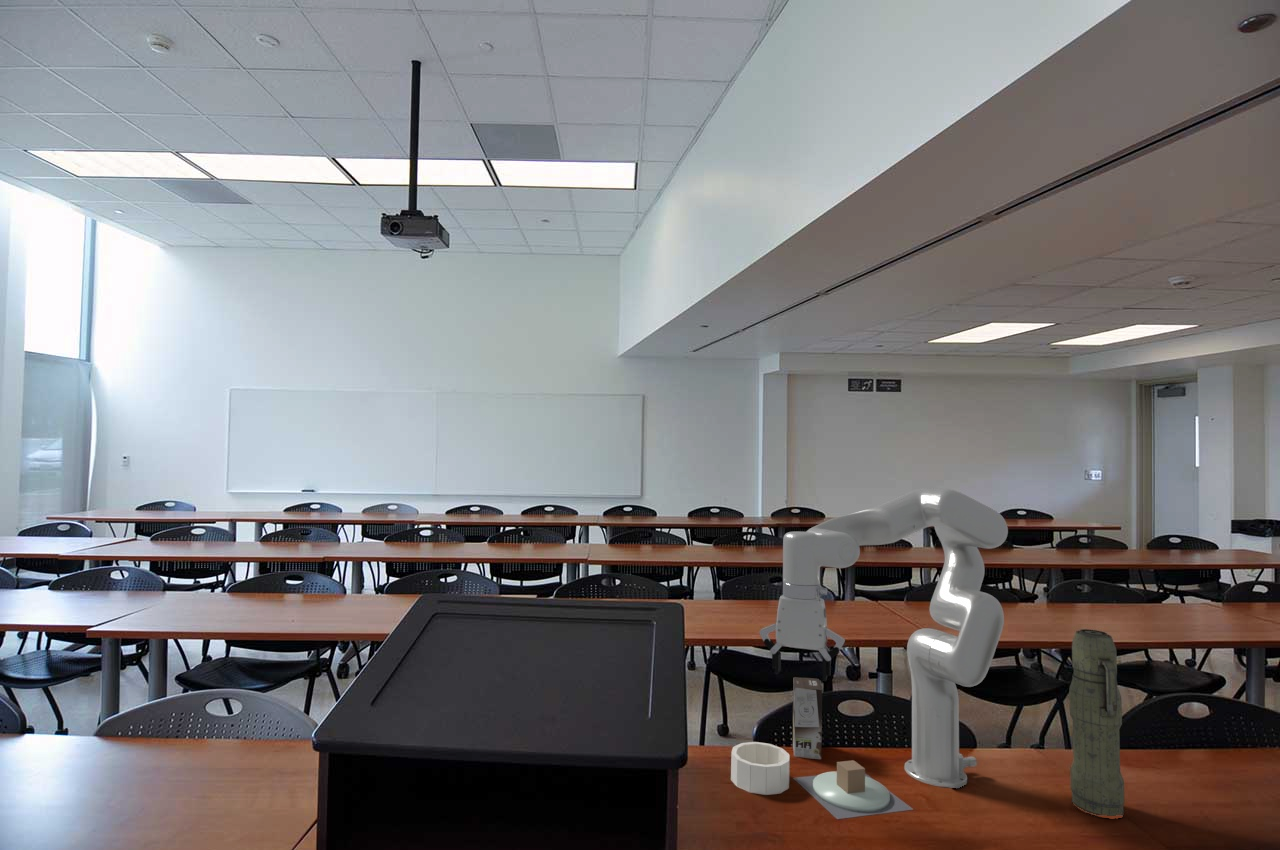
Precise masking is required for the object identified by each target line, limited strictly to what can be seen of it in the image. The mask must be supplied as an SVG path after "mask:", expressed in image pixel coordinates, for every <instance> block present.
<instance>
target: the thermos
mask: <svg viewBox="0 0 1280 850" xmlns="http://www.w3.org/2000/svg"><path fill="white" fill-rule="evenodd" d="M1117 661H1118V659H1117V648H1116V645H1115V642H1114V640H1113V636H1111V635H1110V634H1108V633H1107V632H1106V631H1101V630H1096V629H1088V628H1087V629H1086V628H1085V629H1084V628H1083V629H1079V630H1076V632H1075V633H1074V637H1073V638H1072V642H1071V662H1072V664H1071V666H1072V668H1073V673H1072V676H1071V677H1072V679H1071V683H1070V685H1069V691H1068V694H1069V696H1068V697H1069V700H1068V701H1069V715H1070V717H1071V720H1072V756H1073V757H1072V759H1073V761H1072V763H1071V765H1070V791H1071V793H1072V794H1071V795H1072V796H1071V803H1072V802H1073V803H1074V804H1075V805H1076V806H1077V807H1079V808H1081V809H1083V810H1084V811H1087V812H1089V813H1093V814H1096V815H1107V816H1116V815H1124V816H1125V813H1124V804H1125V780H1124V777H1123V775H1122V773H1121V748H1120V747H1121V745H1120V741H1121V740H1120V739H1121V738H1120V729H1121V726H1122V725H1123V712H1122V711H1123V710H1122V709H1123V708H1122V707H1123V706H1122V696H1121V693H1120V690H1119V687H1118V680H1117V677H1118V676H1117V675H1118V665H1117V664H1118V662H1117Z"/></svg>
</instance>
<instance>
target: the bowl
mask: <svg viewBox="0 0 1280 850" xmlns="http://www.w3.org/2000/svg"><path fill="white" fill-rule="evenodd" d="M730 754H731V755H730V757H731V760H730V764H731V765H730V781H731V782H732V783H733V785H734V786H736V787H737V788H739V789H741V790H744V791H746V792H747V793H750V794H751V793H752V794H755V795H756V794H758V795H764V796H768V795H769V796H770V795H777V794H782V793H783V792H785V791H787V790H788V789H790V756H791V755H790V754H789V752H787V751H786V750H785V749H784V748H782V747H779V746H777V745H774V744H772V743H766V742H759V741H748V742H741V743H739V744H736V745H735V746H732V749H731V753H730Z"/></svg>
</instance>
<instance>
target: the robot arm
mask: <svg viewBox="0 0 1280 850" xmlns="http://www.w3.org/2000/svg"><path fill="white" fill-rule="evenodd" d="M929 527H934V530H935V533H936V536H937V537H938V539H939V542H940V543H941V547H942V550H943V553H944V563H943V567H942V569H941V573H940V575H939V578H938V581H937V584H936V586H935V589H934V592H933V594H932V596H931V600H930V603H929V608H928V609H929V615H930V617H931V618H932V619H933V621H934V622H935V623H937V624H939V625H941V626H943V627H946V628H949V629H952V630H955V631H958V632H959V633H958V636H957V635H954V634H951V633H949V632H946V631H942V630H939V629H936V628H928V627H926V628H924V627H923V628H920V629H917V630H915V631H914V632H913V633H911V635H910V637H909V638H908V641H907V646H906V654H907V660H908V664H909V669H910V676H911V677H910V679H911V759H908V760H907V761H906V762H905V763H904V771H905V772H906V774H907V775H908V776H910V777H911V778H913V779H915V780H916V781H919V782H921V783H924V784H927V785H931V786H935V787H941V788H949V789H951V788H956V789H961V788H962V786H963V787H964V785H967V783H968V776H967V774H966V773H965V771H964V770H965V769H966V768H967V767H969V768H971V767H977V765H978V761H977V758H976V757H974V756H966V757H964V755H963V754H962V753H960V725H959V724H960V721H959V720H960V715H959V714H960V713H959V711H960V701H959V693H958V688H957V685H960V686H962V687H967V688H971V687H974V686H977V685H979V684H980V683H982V682H983V680H985V678H986V676H987V674H988V671H989V669H990V667H991V664H992V661H993V658H994V656H995V654H996V653H995V652H996V649H997V647H998V644H999V641H1000V638H1001V635H1002V632H1003V628H1004V623H1005V617H1004V616H1005V615H1004V614H1005V613H1004V610H1003V606H1002V605H1001V603H1000V601H999V600H998V599H997V598H996V597H994V596H993V595H991V594H990V593H987V592H983V591H981V587H982V583H983V581H984V577H985V574H986V573H985V571H986V570H985V568H986V567H985V563H984V559H983V557H982V555H981V553H980V550H979V549H981V548H982V549H987V550H988V549H990V550H991V549H995V548H998V547H1000V546H1001V545H1002V544H1004V543H1005V542H1006V540H1007V537H1008V534H1009V528H1008V524H1007V521H1006V520H1005V517H1003V516H1002V514H1001V513H999V511H997V510H996V509H993V508H991V507H989V506H988V505H986V504H983V503H982V502H980V501H978V500H976V499H974V498H973V497H970V496H968V495H966V494H964V493H962V492H959V491H957V490H955V489H950V488H932V487H931V488H930V487H929V488H928V487H921V488H917V489H913V490H911V491H908V492H906V493H904V494H902V495H900V496H898V497H896V498H892V499H891V500H889V501H886V502H884V503H882V504H879V505H877V506H874V507H871V508H866V509H863V510H859V511H856V512H852V513H848V514H844V515H839V516H837V517H836V516H835V517H833V518H830V519H828V520H826V521H824V522H823V521H822V522H821V523H819V524H817V525H815V526H812V527H811V528H808V530H806V531H800V530H799V531H789V532H786V533H785V534H784V535H783V538H782V539H783V540H782V542H783V543H782V595H780V597H779V599H778V606H777V611H776V612H777V613H776V622H775V623H773V624H770V625H768V626H765V627H763V628H761V629H760V630H759V631H758V632H759V636H760V637H761V639H762V641H763V644H764V645H765V646H766V648H767V649H768V650H769V652H770V654H771V659H772V660H771V668H772V669H773V670H774V674H775V675H778V674H780V672H781V671H782V657H781V656H782V653H781V651H780V649H781V648H782V647H788V648H794V649H802V650H810V651H818V652H819V653H820V654H821V656H822V657H823V659H822V661H821V662H822V663H821V665H822V667H821V671H822V673H821V675H822V676H821V678H822V680H823V681H824V682H827V680H828V677H831V676H832V675H831V674H832V665H831V663H832V659H833V658H835V656H837V655H838V654H839V653H840V651H841V649H842V647H843V646H844V644H845V641H846V640H845V638H844V637H842V636H841V635H839V634H838V633H836V632H834V631H833V630H831V629H830V628H828V623H827V622H828V620H827V618H828V617H827V610H826V604H825V600H824V598H821V597H822V596H828V588H826V587H823V586H822V585H821V567H826V568H836V569H845V568H849V567H851V566H853V565H854V564H855V563H856V562H857V561H858V559H859V557H860V553H861V548H860V547H861V546H880V545H888V544H894V543H896V542H899V541H900V540H902V539H904V538H906V537H908V536H911V535H912V534H915V533H917V532H920V531H921V530H924V529H926V528H929ZM773 632H775V642H774V641H772V639H771V638H770V636H769V634H770V633H773ZM828 639H830V640H833V641H834V642H835V645H834V646H833V648H831V649H829V648H828V646H827V643H828ZM956 684H957V685H956ZM960 787H961V788H960Z"/></svg>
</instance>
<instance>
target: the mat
mask: <svg viewBox="0 0 1280 850" xmlns="http://www.w3.org/2000/svg"><path fill="white" fill-rule="evenodd" d="M818 775H819V774H817V775H808V776H798V777H792V779H793V780H794V781H796V782H797V784H799V786H801V787H802V788H803V789H804V790H805V791H806V792H807V793H808V794H809V795H810V796H811V797H813V798H814V799H815V800H816V801H817V802H818V803H819V804H820V805H821V806H822V807H823V808H824V809H825V810H826V811H828V813H830V814H831V815H832V816H833V817H834V818H835V819H837V820H843V819H850V818H859V817H867V816H876V815H882V814H884V815H885V814H891V813H898V812H899V813H900V812H907V811H914V808H912V807H911V806H910V805H909V804H907V803H906V802H905V801H903V800H902V799H901V798H900V797H898V796H896V795H895V794H894V793H893V792H891V791H890V790H889V789H887V790H888V791H889V794H890V802H889V804H888V806H887V807H885V808H884V809H881V810H878V811H873V812H858V811H851V810H846V809H842V808H839V807H836V806H833V805H831V804H829V803H827V802H825V801H823V800H822V799H820V798H819V797H818V796H817V795H816V794H815V792H814V790H813V780H814V778H815V777H816V776H818ZM865 776H866V777H869V778H872V777H871V776H870V775H869V774H867V773H866V772H865ZM872 779H874V778H872Z"/></svg>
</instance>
